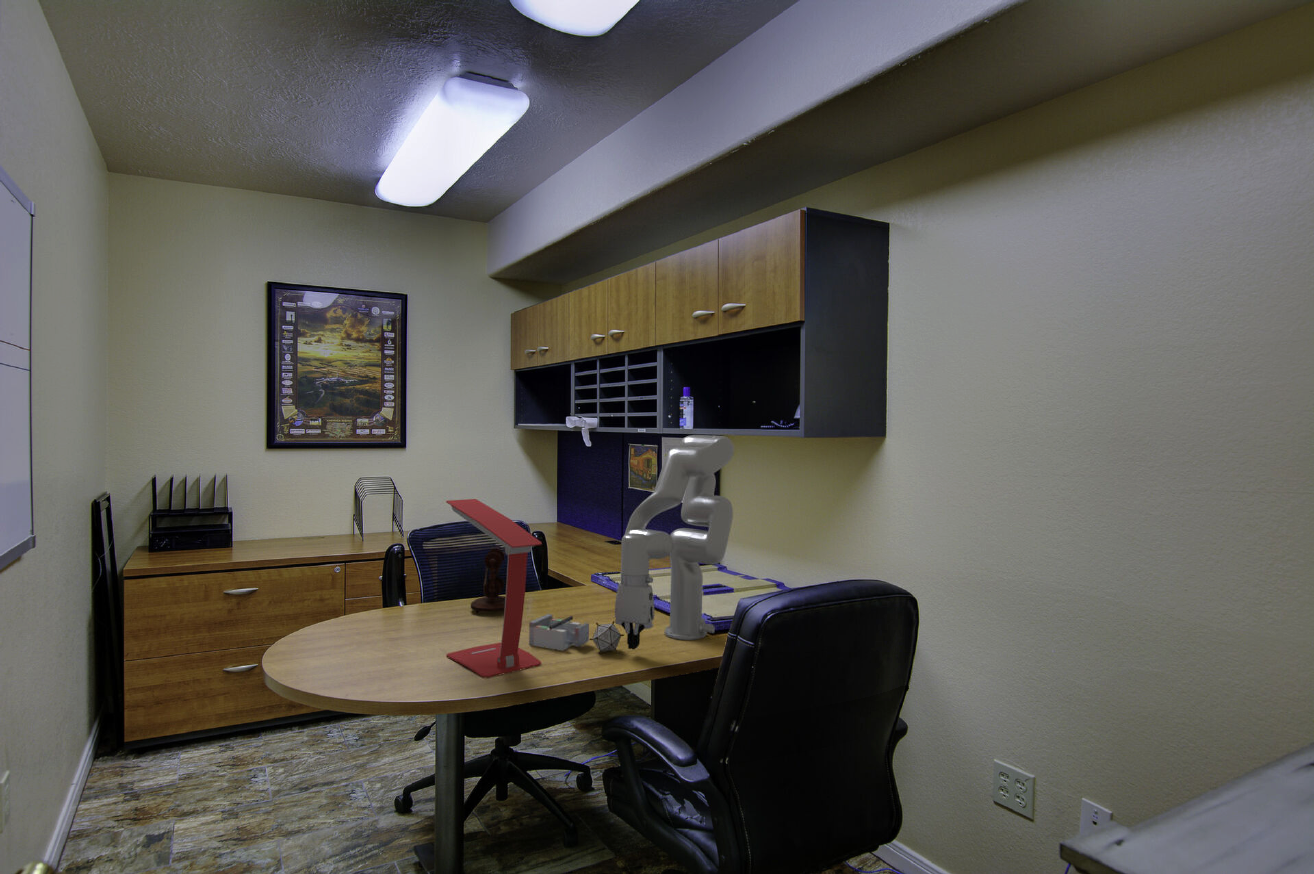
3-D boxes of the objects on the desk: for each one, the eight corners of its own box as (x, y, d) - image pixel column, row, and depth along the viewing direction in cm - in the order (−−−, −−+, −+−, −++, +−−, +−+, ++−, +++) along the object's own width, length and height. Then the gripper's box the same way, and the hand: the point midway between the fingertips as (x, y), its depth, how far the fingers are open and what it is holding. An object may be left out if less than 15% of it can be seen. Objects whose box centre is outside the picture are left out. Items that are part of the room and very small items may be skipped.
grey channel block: (593, 638, 202) (594, 619, 202) (573, 649, 191) (573, 630, 191) (570, 634, 205) (570, 615, 205) (548, 645, 195) (548, 626, 194)
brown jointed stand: (474, 604, 240) (475, 546, 239) (518, 604, 241) (519, 546, 241) (467, 616, 225) (468, 554, 225) (514, 616, 227) (515, 554, 226)
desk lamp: (487, 633, 208) (489, 498, 207) (557, 670, 179) (560, 512, 178) (428, 644, 197) (430, 501, 196) (492, 686, 167) (494, 517, 166)
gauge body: (580, 641, 203) (580, 618, 203) (562, 650, 194) (563, 627, 194) (547, 635, 207) (547, 614, 207) (528, 644, 198) (529, 622, 198)
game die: (608, 662, 196) (623, 629, 201) (618, 661, 189) (633, 626, 193) (580, 648, 194) (595, 614, 199) (589, 645, 187) (605, 611, 192)
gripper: (665, 580, 191) (664, 647, 191) (616, 574, 197) (614, 640, 197) (654, 585, 184) (653, 656, 184) (603, 579, 190) (602, 647, 190)
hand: (633, 647), depth 191 cm, fingers closed
